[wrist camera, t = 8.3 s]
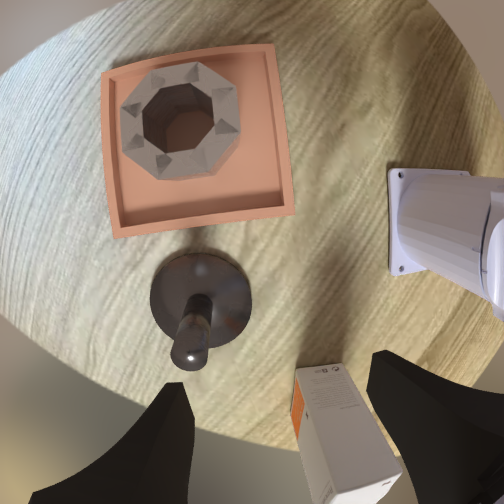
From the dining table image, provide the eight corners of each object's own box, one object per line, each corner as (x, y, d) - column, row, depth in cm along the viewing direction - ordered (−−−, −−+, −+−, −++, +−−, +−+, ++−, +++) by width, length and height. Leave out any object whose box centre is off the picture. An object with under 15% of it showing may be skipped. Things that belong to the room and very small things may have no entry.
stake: (245, 246, 18) (253, 281, 12) (256, 339, 20) (267, 399, 13) (142, 260, 18) (103, 297, 11) (164, 348, 19) (144, 406, 13)
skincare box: (293, 367, 21) (337, 493, 9) (342, 361, 21) (407, 470, 9) (288, 415, 22) (316, 524, 10) (331, 409, 22) (374, 508, 11)
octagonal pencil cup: (231, 90, 15) (232, 57, 10) (240, 172, 16) (244, 167, 11) (147, 104, 15) (119, 78, 10) (154, 185, 16) (125, 186, 11)
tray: (270, 53, 15) (273, 43, 13) (289, 212, 18) (295, 215, 16) (109, 79, 14) (101, 72, 13) (122, 234, 17) (113, 239, 16)
